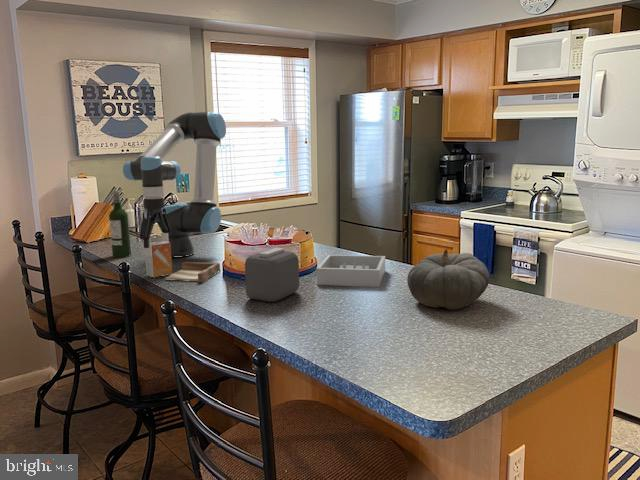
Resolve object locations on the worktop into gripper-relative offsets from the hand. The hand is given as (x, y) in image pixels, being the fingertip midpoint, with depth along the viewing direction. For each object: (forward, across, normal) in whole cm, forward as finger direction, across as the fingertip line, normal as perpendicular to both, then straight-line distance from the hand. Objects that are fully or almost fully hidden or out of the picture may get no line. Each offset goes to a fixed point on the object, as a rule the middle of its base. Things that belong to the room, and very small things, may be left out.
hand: (157, 252), depth 213 cm
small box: (+9, -1, 0) cm, 9 cm away
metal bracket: (+10, -6, +75) cm, 76 cm away
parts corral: (+9, -7, +75) cm, 76 cm away
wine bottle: (+9, -32, -35) cm, 48 cm away
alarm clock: (+10, +20, +53) cm, 58 cm away
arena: (+9, -1, +13) cm, 16 cm away
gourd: (+10, +20, +109) cm, 111 cm away
